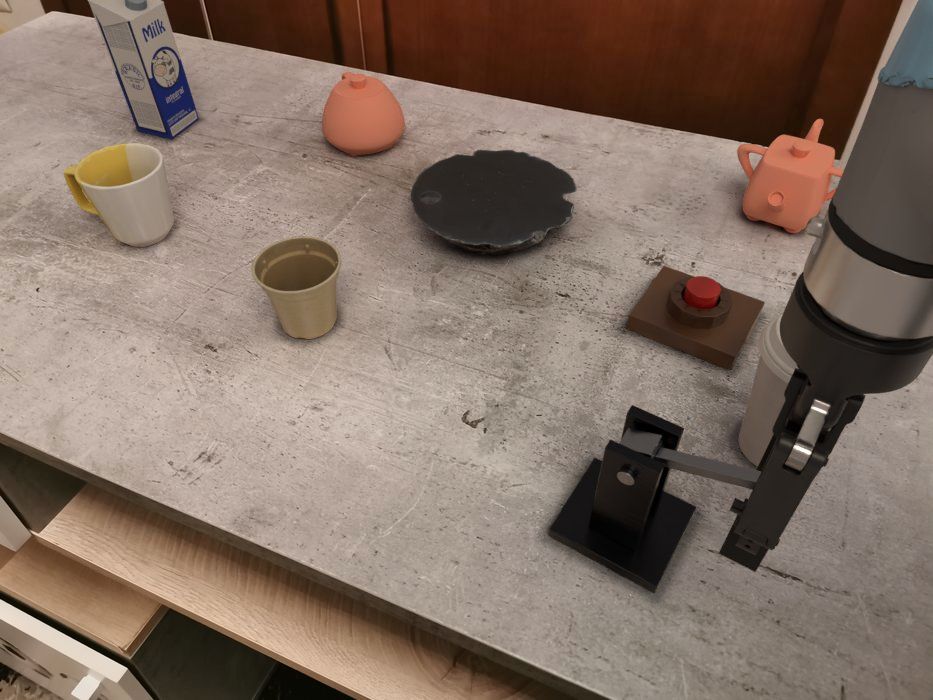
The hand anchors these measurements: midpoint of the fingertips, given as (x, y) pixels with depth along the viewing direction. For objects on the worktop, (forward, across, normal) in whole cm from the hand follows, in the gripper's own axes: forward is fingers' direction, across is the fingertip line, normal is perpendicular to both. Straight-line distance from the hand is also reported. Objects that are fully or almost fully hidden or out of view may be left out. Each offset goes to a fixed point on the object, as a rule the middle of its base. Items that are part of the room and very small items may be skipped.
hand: (753, 523), depth 55 cm
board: (+9, -32, -42) cm, 54 cm away
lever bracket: (+9, 0, -9) cm, 13 cm away
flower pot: (+9, -5, -50) cm, 51 cm away
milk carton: (+9, -27, -99) cm, 103 cm away
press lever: (-2, 0, -5) cm, 5 cm away
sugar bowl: (+9, -40, -70) cm, 81 cm away
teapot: (+9, -54, -11) cm, 56 cm away
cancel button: (+5, -28, -13) cm, 31 cm away
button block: (+9, -28, -13) cm, 32 cm away
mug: (+9, -6, -81) cm, 82 cm away
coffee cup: (+9, -16, -1) cm, 18 cm away
